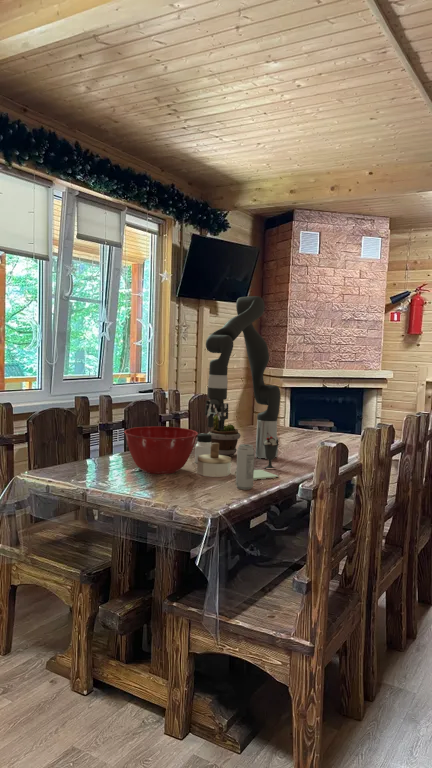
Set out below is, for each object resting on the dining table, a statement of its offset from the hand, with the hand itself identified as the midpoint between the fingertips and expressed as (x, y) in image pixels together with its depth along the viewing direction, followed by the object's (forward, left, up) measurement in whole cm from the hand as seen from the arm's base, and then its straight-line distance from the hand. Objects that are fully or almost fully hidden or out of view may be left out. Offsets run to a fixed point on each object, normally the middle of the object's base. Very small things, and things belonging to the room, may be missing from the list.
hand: (215, 428), depth 213 cm
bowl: (0, 0, -18) cm, 18 cm away
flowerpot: (-23, -33, -18) cm, 44 cm away
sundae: (-27, -1, -18) cm, 32 cm away
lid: (0, 0, -13) cm, 13 cm away
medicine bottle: (-7, -22, -18) cm, 29 cm away
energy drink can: (+1, +24, -18) cm, 30 cm away
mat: (-14, +9, -17) cm, 24 cm away
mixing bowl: (+18, -11, -18) cm, 28 cm away
